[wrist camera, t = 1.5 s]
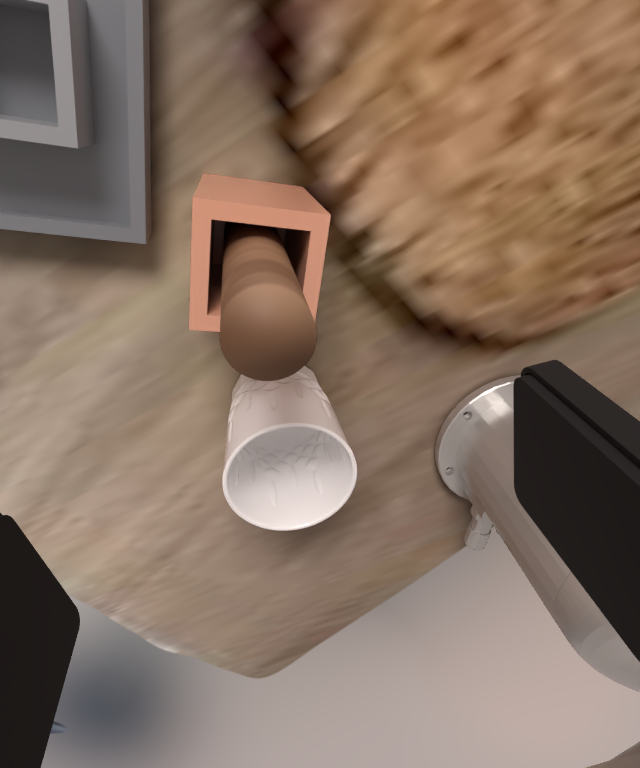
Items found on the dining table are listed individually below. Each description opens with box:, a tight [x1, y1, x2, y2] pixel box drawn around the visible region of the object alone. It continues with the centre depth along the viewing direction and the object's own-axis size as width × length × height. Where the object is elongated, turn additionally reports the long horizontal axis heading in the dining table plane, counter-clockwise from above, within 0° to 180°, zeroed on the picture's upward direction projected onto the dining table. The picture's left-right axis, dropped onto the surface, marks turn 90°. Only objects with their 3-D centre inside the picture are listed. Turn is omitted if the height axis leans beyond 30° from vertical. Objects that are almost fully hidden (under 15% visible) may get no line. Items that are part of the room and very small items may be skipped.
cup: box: [189, 173, 331, 332], centre depth 27 cm, size 6×6×10 cm
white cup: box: [222, 366, 357, 531], centre depth 34 cm, size 8×8×10 cm
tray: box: [0, 0, 151, 244], centre depth 24 cm, size 16×12×4 cm
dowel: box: [220, 221, 317, 381], centre depth 24 cm, size 3×3×17 cm
